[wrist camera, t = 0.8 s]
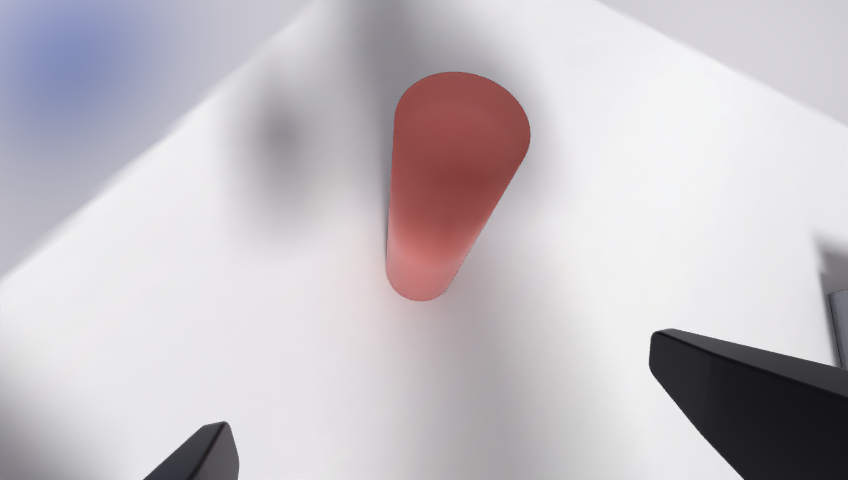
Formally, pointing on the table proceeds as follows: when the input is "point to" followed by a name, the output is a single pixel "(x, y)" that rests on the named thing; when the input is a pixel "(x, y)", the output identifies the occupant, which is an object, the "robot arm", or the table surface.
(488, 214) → the plug
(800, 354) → the table surface
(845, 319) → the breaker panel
